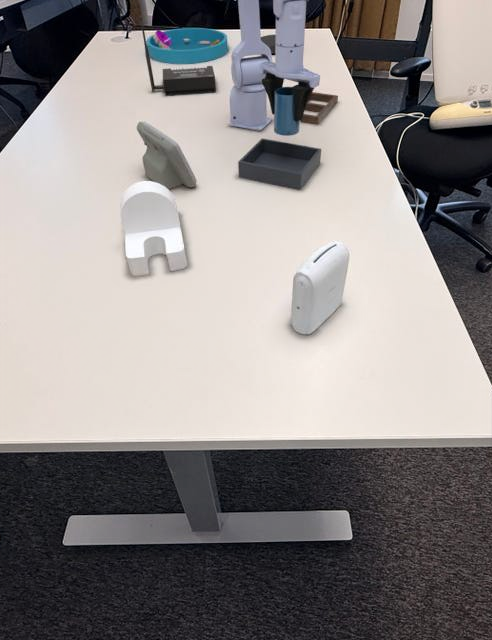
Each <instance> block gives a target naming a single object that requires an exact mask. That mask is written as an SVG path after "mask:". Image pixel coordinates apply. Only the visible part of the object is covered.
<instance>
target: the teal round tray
mask: <svg viewBox="0 0 492 640" xmlns="http://www.w3.org/2000/svg"><path fill="white" fill-rule="evenodd" d="M146 44H147V48H148V52H149V56H150V59H153V60H154V61H157V62H161V63H167V64H177V65H178V64H179V65H182V64H183V65H185V64H187V65H188V64H198V63H205V62H209V61H214V60H217V59H220V58H222V57H224V56H225V55H226V54H227V53H228V51H229V46H228V45H229V44H228V35H227V34H226V33H225V32H223V31H220V30H217V29H214V28H205V27H204V28H203V27H183V28H174V29H168V30H164V31H162V30H159V29H157V30H156V31H155V33H154V34H151V35H150V36H149V37H148V38H146Z"/></svg>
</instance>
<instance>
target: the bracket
mask: <svg viewBox="0 0 492 640" xmlns="http://www.w3.org/2000/svg"><path fill="white" fill-rule="evenodd" d="M119 204H120V208H119V209H120V220H121V225H122V229H123V232H124V240H125V242H124V244H125V246H124V247H125V257H126V261H127V264H128V267H129V272H130V274H131V275H132V276H135V277H140V276H146V275H147V276H148V275H150V268H149V259H150V258H151V257H153V256H155V255H164V256H166V258H167V262H168V266H169V271H170V272H173V271H179V270H184V269H186V268H187V267H188V261H187V256H186V251H185V250H186V249H185V244H184V238H183V233H182V228H181V223H180V216H179V211H178V204H177V201H176V198H175V196H174V194H173V193H172V192H171V191H170V189H169V190H168V189H167V188H166V187H165V186H163V185H161V184H159V183H156V182H153V181H152V180H143V181H138V182H135V183H133V184H132V185H130V186H128V187H127V189H126V190H125V191H124V192H123V194H122V195H121V198H120V203H119Z"/></svg>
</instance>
